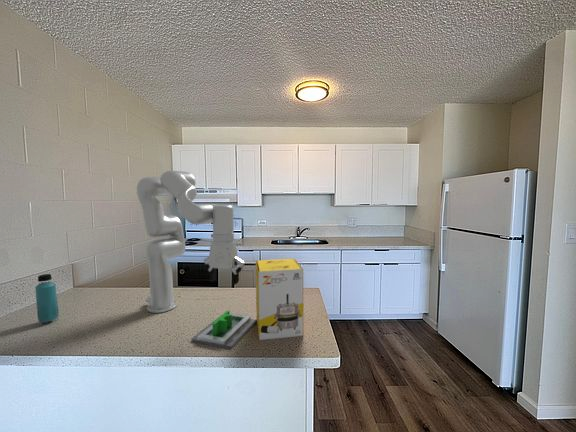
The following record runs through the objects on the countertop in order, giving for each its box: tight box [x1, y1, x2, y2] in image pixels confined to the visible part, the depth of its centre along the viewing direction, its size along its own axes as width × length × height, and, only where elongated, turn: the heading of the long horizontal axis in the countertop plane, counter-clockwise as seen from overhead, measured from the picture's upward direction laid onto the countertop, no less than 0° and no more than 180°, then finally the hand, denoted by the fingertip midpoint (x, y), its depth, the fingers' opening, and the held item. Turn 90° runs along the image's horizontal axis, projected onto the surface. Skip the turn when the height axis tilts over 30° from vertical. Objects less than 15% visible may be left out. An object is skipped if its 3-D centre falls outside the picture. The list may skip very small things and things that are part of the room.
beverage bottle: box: [34, 273, 60, 323], centre depth 109 cm, size 6×7×20 cm
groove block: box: [190, 312, 257, 350], centre depth 101 cm, size 16×20×2 cm
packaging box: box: [255, 258, 304, 341], centre depth 103 cm, size 16×16×25 cm
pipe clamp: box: [213, 310, 232, 336], centre depth 101 cm, size 11×4×5 cm, turn 166°
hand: (224, 282), depth 101 cm, fingers open, 9 cm apart
